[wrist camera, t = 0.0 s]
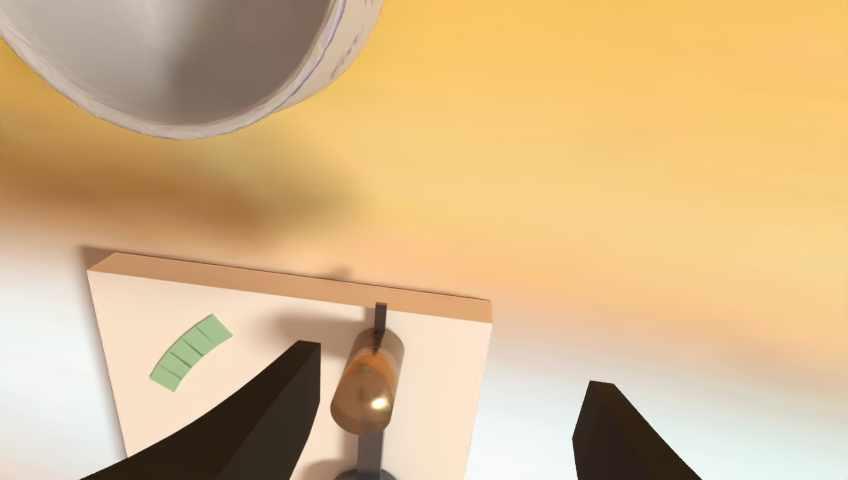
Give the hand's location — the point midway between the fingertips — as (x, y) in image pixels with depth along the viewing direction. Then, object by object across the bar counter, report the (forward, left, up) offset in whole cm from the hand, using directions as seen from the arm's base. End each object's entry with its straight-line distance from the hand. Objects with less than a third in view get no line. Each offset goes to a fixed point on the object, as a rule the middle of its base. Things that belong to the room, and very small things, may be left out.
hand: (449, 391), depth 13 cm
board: (-10, +7, -10) cm, 16 cm away
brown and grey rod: (-10, +3, -8) cm, 13 cm away
